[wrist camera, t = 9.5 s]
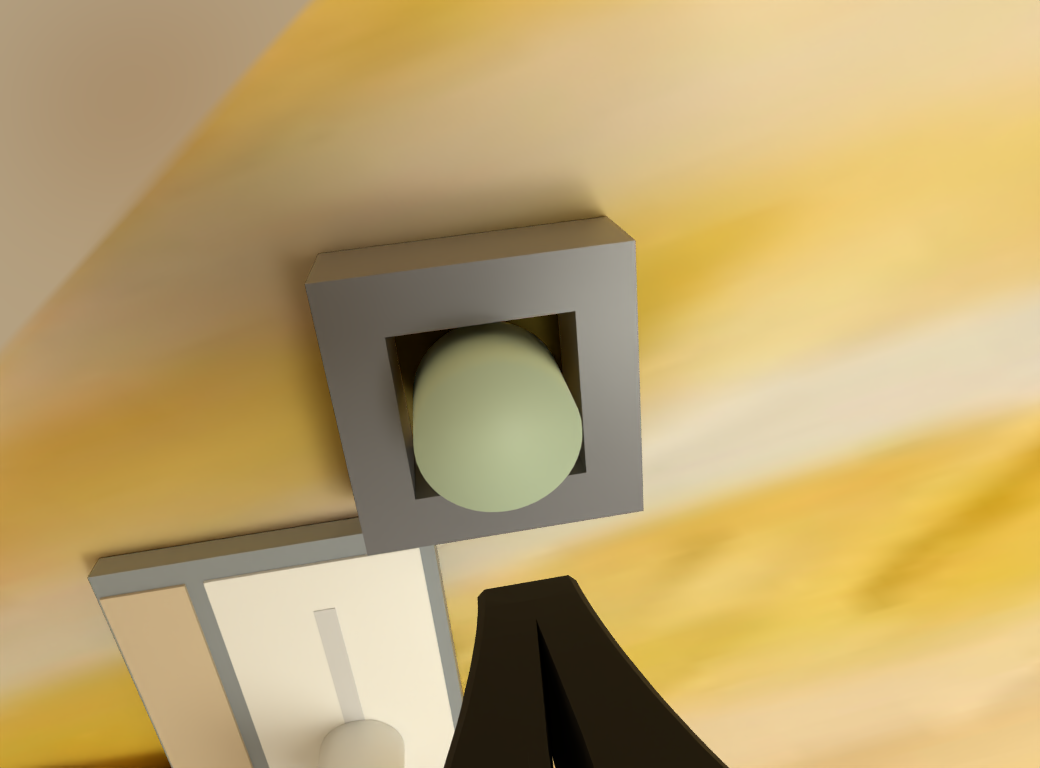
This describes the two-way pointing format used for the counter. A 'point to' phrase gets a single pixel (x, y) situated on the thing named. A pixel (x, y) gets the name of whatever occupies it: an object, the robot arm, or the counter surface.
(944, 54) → the counter surface
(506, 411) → the button
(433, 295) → the button housing
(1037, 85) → the counter surface
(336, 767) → the marker teal
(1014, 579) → the counter surface
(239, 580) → the board
